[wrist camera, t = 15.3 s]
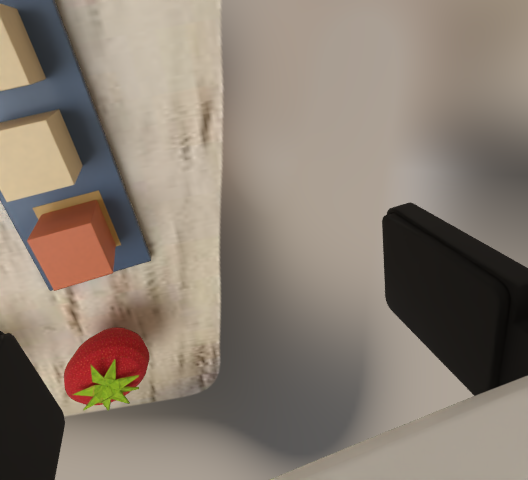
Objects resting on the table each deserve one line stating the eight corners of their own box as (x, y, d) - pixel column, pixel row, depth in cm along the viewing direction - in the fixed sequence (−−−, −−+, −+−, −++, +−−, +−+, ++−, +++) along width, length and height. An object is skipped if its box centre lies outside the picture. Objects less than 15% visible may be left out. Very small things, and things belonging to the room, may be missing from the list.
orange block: (41, 214, 32) (26, 240, 28) (96, 199, 33) (90, 222, 28) (64, 260, 34) (54, 291, 30) (116, 245, 35) (113, 273, 30)
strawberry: (57, 332, 38) (33, 416, 29) (124, 290, 38) (121, 361, 29) (98, 367, 41) (88, 454, 32) (160, 328, 41) (167, 403, 32)
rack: (-99, 6, 25) (-160, -4, 20) (47, -19, 27) (26, -35, 21) (51, 285, 36) (37, 325, 31) (150, 255, 37) (153, 289, 32)
